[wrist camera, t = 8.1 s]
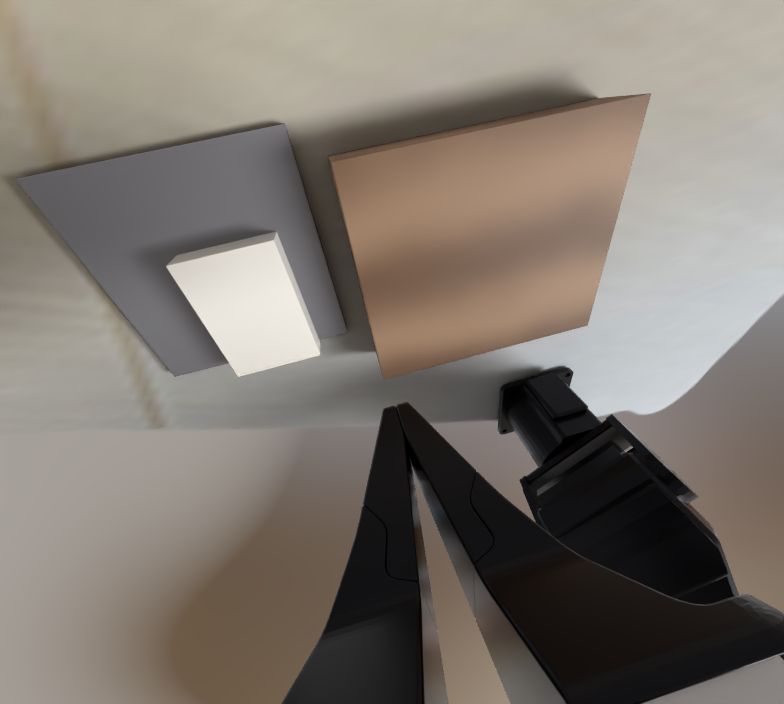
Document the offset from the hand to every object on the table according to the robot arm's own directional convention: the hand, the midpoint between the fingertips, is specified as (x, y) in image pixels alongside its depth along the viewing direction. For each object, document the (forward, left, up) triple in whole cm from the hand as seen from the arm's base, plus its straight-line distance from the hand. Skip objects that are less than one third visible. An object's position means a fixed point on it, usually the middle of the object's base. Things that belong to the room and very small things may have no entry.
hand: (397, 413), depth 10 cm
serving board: (+1, -7, -11) cm, 13 cm away
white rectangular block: (0, +6, -9) cm, 11 cm away
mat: (+3, +7, -11) cm, 13 cm away
